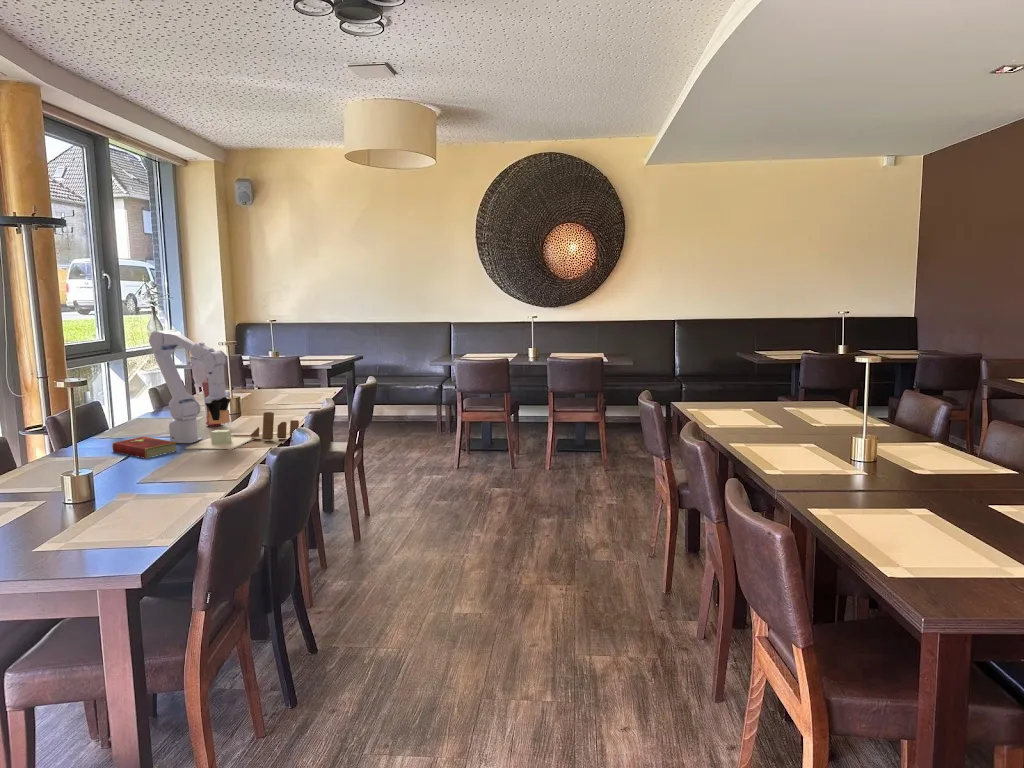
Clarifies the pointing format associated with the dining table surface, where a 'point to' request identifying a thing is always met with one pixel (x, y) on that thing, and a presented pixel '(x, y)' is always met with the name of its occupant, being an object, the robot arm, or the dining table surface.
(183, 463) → the dining table surface
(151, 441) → the hardcover book
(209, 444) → the build pad
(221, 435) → the sage block
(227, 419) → the terracotta block
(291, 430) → the wooden block set
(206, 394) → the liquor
